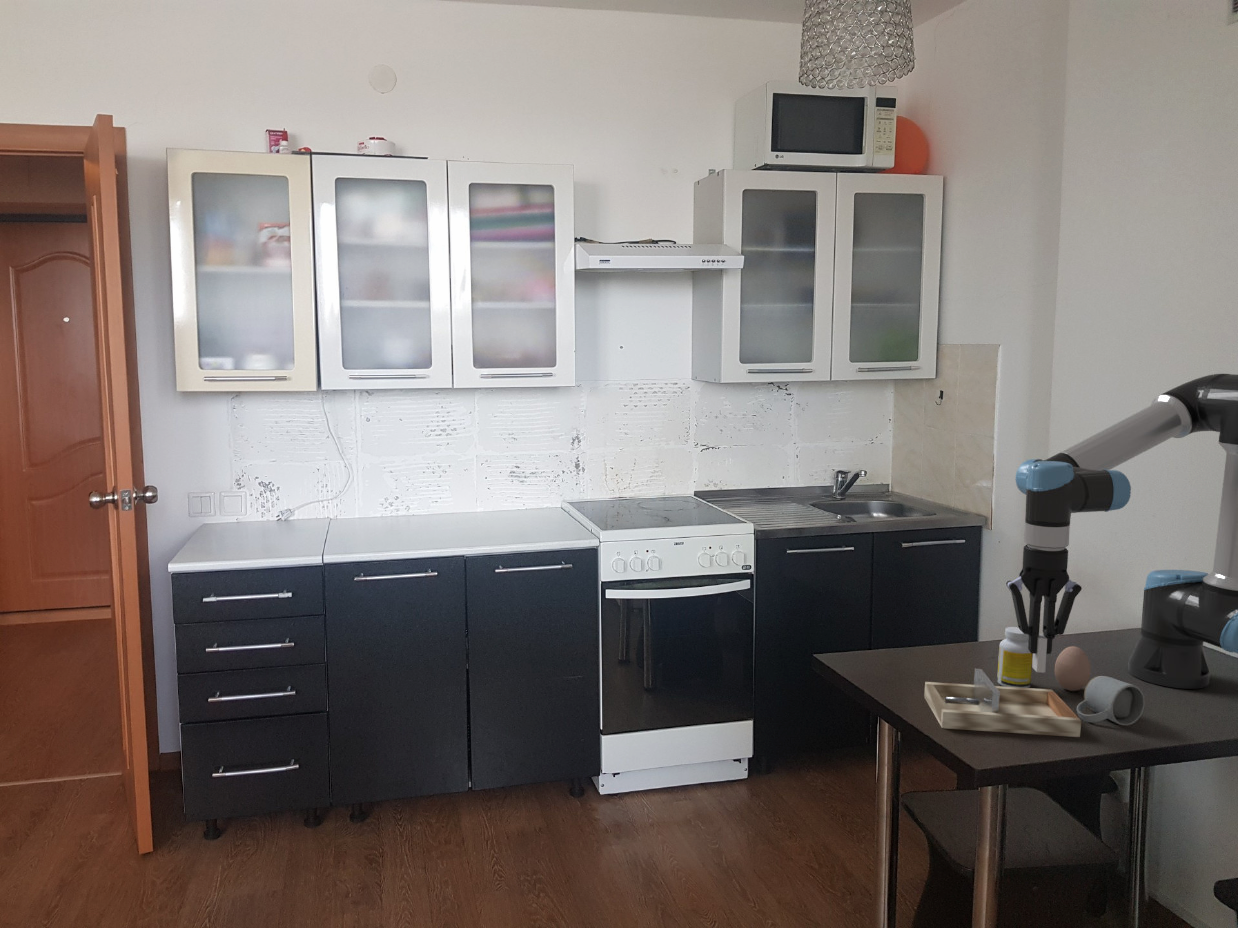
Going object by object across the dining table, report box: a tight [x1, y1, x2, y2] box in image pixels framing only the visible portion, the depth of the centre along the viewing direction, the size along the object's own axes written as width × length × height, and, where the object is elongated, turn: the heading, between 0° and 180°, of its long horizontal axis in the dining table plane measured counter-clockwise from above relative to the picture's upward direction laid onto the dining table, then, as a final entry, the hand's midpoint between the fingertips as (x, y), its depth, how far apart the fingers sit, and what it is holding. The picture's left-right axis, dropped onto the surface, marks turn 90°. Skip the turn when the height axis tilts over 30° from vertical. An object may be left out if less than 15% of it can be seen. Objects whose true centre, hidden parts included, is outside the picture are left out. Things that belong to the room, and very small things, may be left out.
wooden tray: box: [923, 681, 1082, 738], centre depth 180 cm, size 24×15×3 cm, turn 84°
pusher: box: [945, 668, 1000, 713], centre depth 180 cm, size 8×12×6 cm, turn 174°
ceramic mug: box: [1076, 675, 1146, 727], centre depth 180 cm, size 11×8×8 cm
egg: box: [1054, 645, 1092, 692], centre depth 194 cm, size 7×7×9 cm
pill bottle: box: [996, 626, 1033, 688], centre depth 196 cm, size 6×6×12 cm
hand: (1038, 669), depth 178 cm, fingers closed
